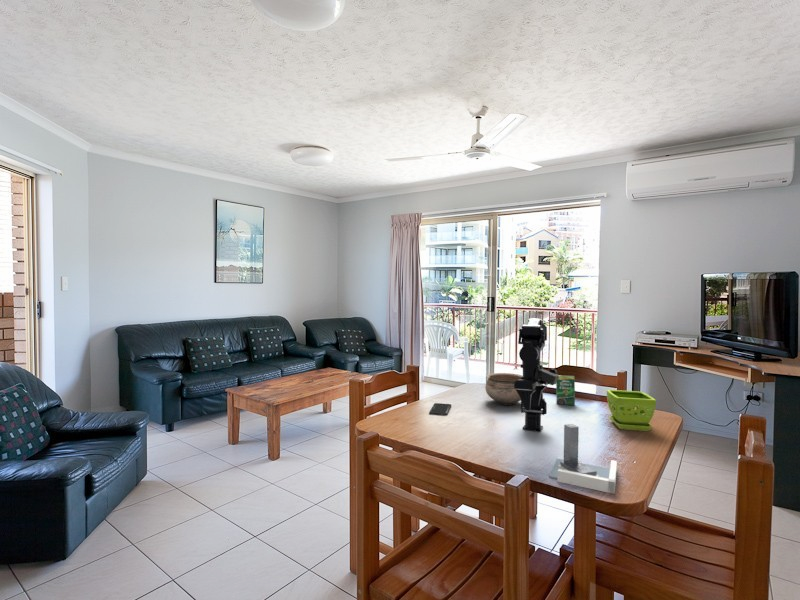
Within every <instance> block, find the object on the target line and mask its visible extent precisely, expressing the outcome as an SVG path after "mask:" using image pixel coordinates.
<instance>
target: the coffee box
mask: <svg viewBox="0 0 800 600" xmlns="http://www.w3.org/2000/svg"><path fill="white" fill-rule="evenodd" d="M558 375H559V374H558ZM558 377H559V379H557V382H556V384H555V390H556V395H555V396H556V397H555V398H556V401H555V402H556V405H566V406H567V405H568V406H575V402H576V400H575V399H576V396H575V394H576V390H575V388H576V387H575V386H576V385H575V383H576V382H575V375H559V376H558Z"/></svg>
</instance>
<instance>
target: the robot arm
mask: <svg viewBox="0 0 800 600" xmlns="http://www.w3.org/2000/svg"><path fill="white" fill-rule="evenodd" d="M518 331H519V332H518V342H517V343H518V345H522V347H521V348H520V350H519V352H518V354H519V358H520V360H521V361H522V362H521V363H522V364H520V368H521V369H522V376H523V377H521V379H518V380H516V381H515V382H514V389H516V391H517V393H518V394H519V396H520V398H521V401H520V413H524V414H525V415H524V425H523V426H522V430H526V431H530V432H539V433H541V431H542V430H543V428H544V426H543V425H542V416H545V415H546V414H547V412H548V410H547V407H548V406H547V405H548V404H547V401H546V400H545V398H544V393H543V391H544V390H545V389H546V388H547V387H548V385H550V386H554V385H556V382H557V379H559V377H558V376H559V374H558V370H557V369H554V368H551V369H550V370H546V369H545V368H544V367H543V365H542V364H541V352H542V351H543V349H544V348H545V347H546V341H548V327H547V326H546V325H545V324H544V323H543V319H541V318H535V317H531V318H528V319H527V323H526V324H522V325H521V327H519V330H518Z"/></svg>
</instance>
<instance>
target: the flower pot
mask: <svg viewBox="0 0 800 600" xmlns="http://www.w3.org/2000/svg"><path fill="white" fill-rule="evenodd" d="M606 399H607V400H606V401H607V405H608V408H609V410H610V413H611V415H608V416H609V418H610V421H612V422H613V423H614V425H615V426H616V427H617V428H619V430H627V431H637V430H639V431H640V432H648V431H651V430H652V428H653V426H652V424H650V422H651V421H652V419H653V417H654V413H655V411H656V406H657V405H656V404H657V400H656V399H655V398H654V397H652V396H650V395H649V394H648V393H645V392H644V391H635V390H619V389H607V390H606ZM635 408H636V409H635Z"/></svg>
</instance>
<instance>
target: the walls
mask: <svg viewBox="0 0 800 600" xmlns="http://www.w3.org/2000/svg"><path fill="white" fill-rule="evenodd" d="M609 468H610V473H609V479H607V478H602V477H597V476H592V475H587V474H582V473H577V472H572V471H567V470H562V469H558V479H557V482H558V483H562V484H567V485H573V486H576V487H581V488H586V489H590V490H591V489H592V490H596V491H599V492H600V491H601V492H604V493H608V494H614V495H615V493H616V483H617V474H618V472H617V471H618V470H617V468H618V461H617V460H614V459H613V460H612V459H611V460H610V467H609Z"/></svg>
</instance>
